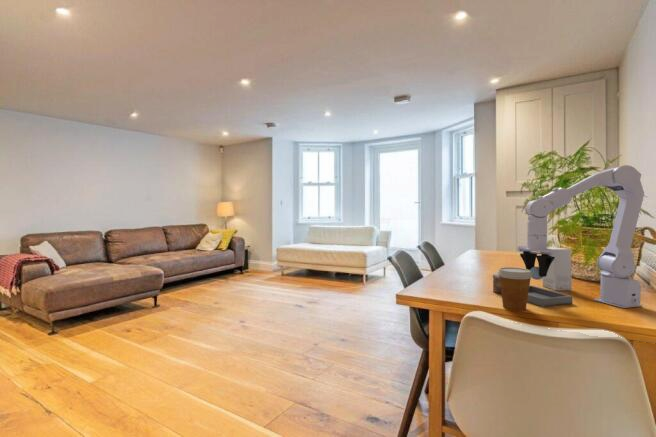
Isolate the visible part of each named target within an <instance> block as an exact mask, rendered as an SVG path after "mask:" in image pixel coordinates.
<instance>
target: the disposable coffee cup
mask: <svg viewBox="0 0 656 437" xmlns="http://www.w3.org/2000/svg"><path fill="white" fill-rule="evenodd" d="M497 274H498V275H499V278H500V286H501V300H502V307H503V308H504V309H506V310H510V311H514V312H515V311H517V312H518V311H519V312H520V311H521V312H523V311H526V310H527V305H528V304H527V303H528V302H527V298H528V292H529V286H530V285H531V279H532V274H531V271H530V270H528V269H526V268H522V267H511V266H510V267H509V266H508V267H506V266H505V267H500V268H499V269H498V272H497Z"/></svg>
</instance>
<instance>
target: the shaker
mask: <svg viewBox="0 0 656 437" xmlns="http://www.w3.org/2000/svg"><path fill="white" fill-rule="evenodd" d="M492 292H493V293H494V294H498V295H499V294H501V286H500V278H499V275H498V273H492ZM501 295H502V294H501Z"/></svg>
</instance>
